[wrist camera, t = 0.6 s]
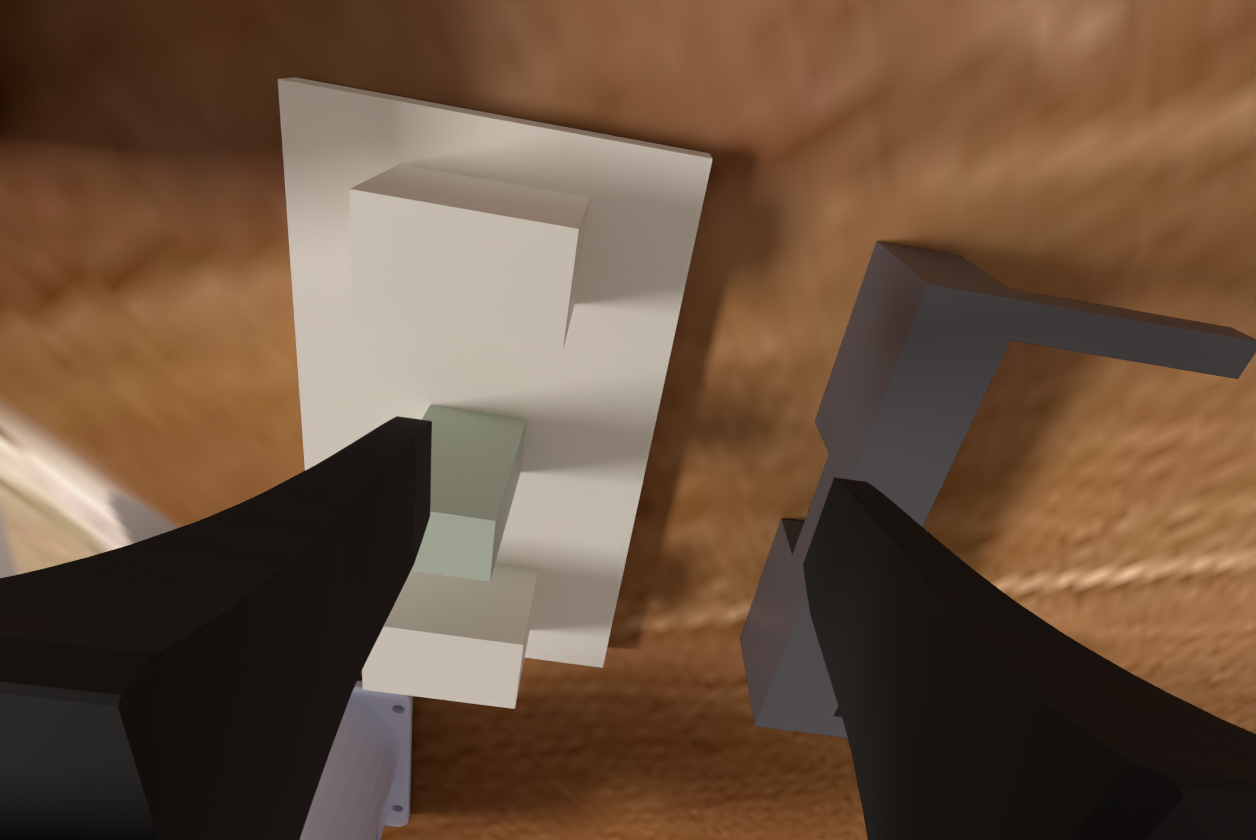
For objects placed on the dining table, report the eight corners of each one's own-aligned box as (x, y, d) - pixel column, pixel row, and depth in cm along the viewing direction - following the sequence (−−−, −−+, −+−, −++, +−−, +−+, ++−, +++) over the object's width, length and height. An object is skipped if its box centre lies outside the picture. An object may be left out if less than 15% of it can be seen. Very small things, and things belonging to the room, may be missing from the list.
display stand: (603, 647, 28) (594, 796, 22) (326, 610, 27) (247, 754, 21) (709, 153, 19) (737, 198, 13) (295, 77, 18) (144, 92, 12)
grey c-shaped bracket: (944, 666, 28) (987, 755, 24) (740, 638, 27) (754, 726, 24) (1154, 290, 20) (1262, 342, 17) (877, 241, 20) (928, 283, 16)
